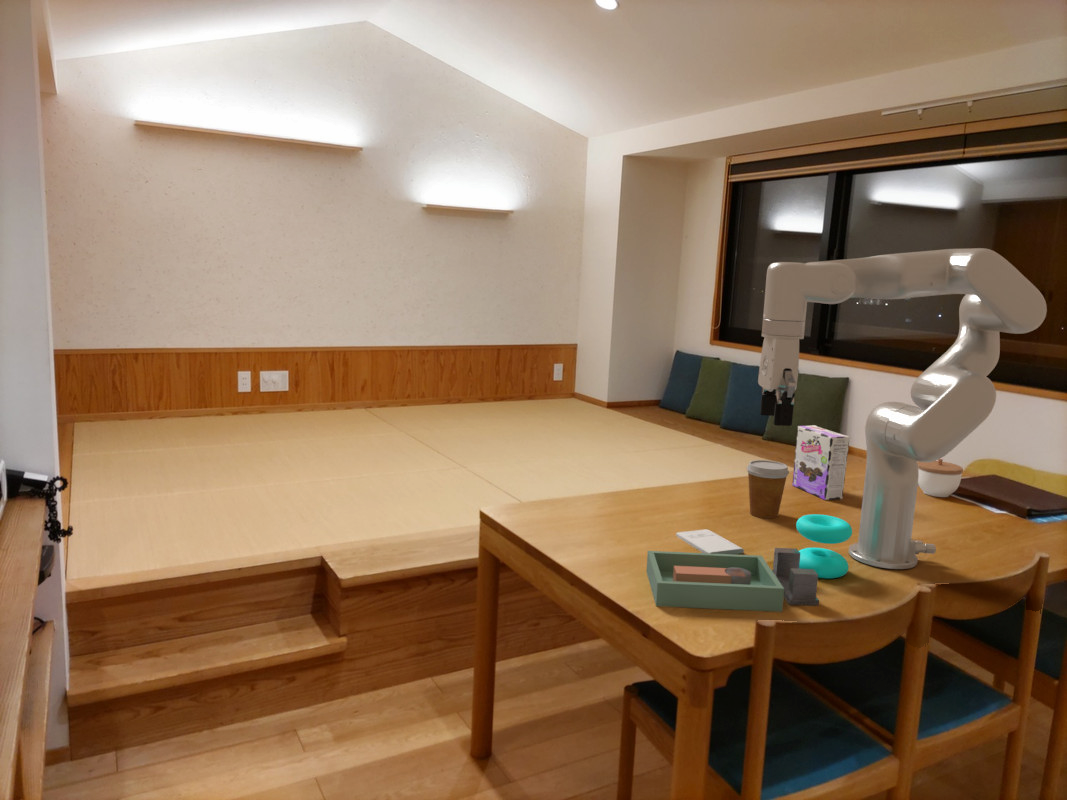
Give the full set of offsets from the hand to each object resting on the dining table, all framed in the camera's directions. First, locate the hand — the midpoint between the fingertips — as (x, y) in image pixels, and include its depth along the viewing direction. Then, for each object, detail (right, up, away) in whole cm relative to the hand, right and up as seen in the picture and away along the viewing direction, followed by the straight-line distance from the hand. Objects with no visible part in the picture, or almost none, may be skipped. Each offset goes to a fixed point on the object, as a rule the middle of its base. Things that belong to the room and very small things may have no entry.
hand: (775, 420), depth 148 cm
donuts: (+9, -29, +2) cm, 30 cm away
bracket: (+1, -30, -8) cm, 31 cm away
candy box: (+28, -20, +55) cm, 65 cm away
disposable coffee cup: (+8, -23, +35) cm, 43 cm away
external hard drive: (-10, -27, +14) cm, 32 cm away
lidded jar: (+60, -21, +57) cm, 86 cm away
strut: (-15, -29, -10) cm, 34 cm away
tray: (-14, -30, -10) cm, 35 cm away
